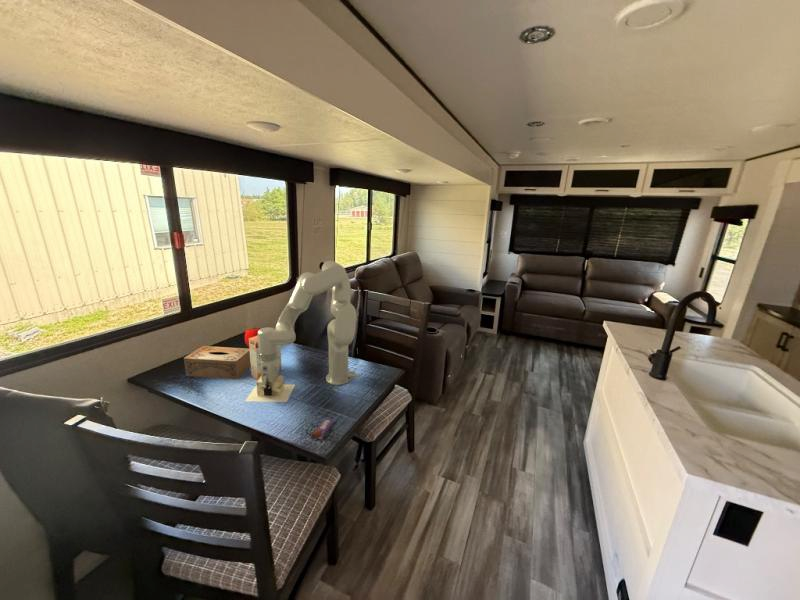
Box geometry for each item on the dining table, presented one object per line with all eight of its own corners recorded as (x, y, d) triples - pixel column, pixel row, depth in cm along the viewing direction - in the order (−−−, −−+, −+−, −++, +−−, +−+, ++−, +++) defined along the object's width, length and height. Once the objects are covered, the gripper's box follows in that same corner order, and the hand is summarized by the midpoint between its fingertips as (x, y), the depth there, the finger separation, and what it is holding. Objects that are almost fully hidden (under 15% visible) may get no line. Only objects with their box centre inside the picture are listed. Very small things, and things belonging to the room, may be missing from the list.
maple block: (284, 388, 143) (283, 375, 141) (280, 396, 137) (279, 382, 135) (262, 388, 142) (261, 375, 141) (257, 396, 137) (256, 382, 135)
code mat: (295, 384, 147) (295, 384, 147) (286, 401, 134) (286, 401, 134) (257, 384, 146) (257, 384, 146) (244, 401, 133) (244, 401, 132)
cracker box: (258, 380, 149) (255, 341, 144) (251, 376, 152) (247, 338, 147) (282, 369, 161) (280, 332, 155) (275, 366, 164) (273, 329, 158)
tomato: (258, 353, 177) (256, 332, 174) (240, 350, 180) (238, 329, 177) (271, 345, 188) (269, 325, 185) (253, 342, 191) (252, 323, 187)
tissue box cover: (186, 376, 150) (183, 358, 147) (205, 363, 164) (203, 345, 161) (237, 379, 150) (236, 361, 147) (252, 365, 164) (251, 348, 161)
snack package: (325, 415, 124) (336, 418, 123) (325, 420, 124) (336, 422, 123) (309, 434, 113) (321, 437, 112) (309, 438, 114) (321, 442, 112)
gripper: (270, 364, 127) (273, 401, 132) (283, 347, 143) (285, 380, 148) (251, 364, 126) (255, 401, 131) (266, 346, 143) (269, 380, 148)
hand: (271, 390), depth 140 cm, fingers open, 7 cm apart
